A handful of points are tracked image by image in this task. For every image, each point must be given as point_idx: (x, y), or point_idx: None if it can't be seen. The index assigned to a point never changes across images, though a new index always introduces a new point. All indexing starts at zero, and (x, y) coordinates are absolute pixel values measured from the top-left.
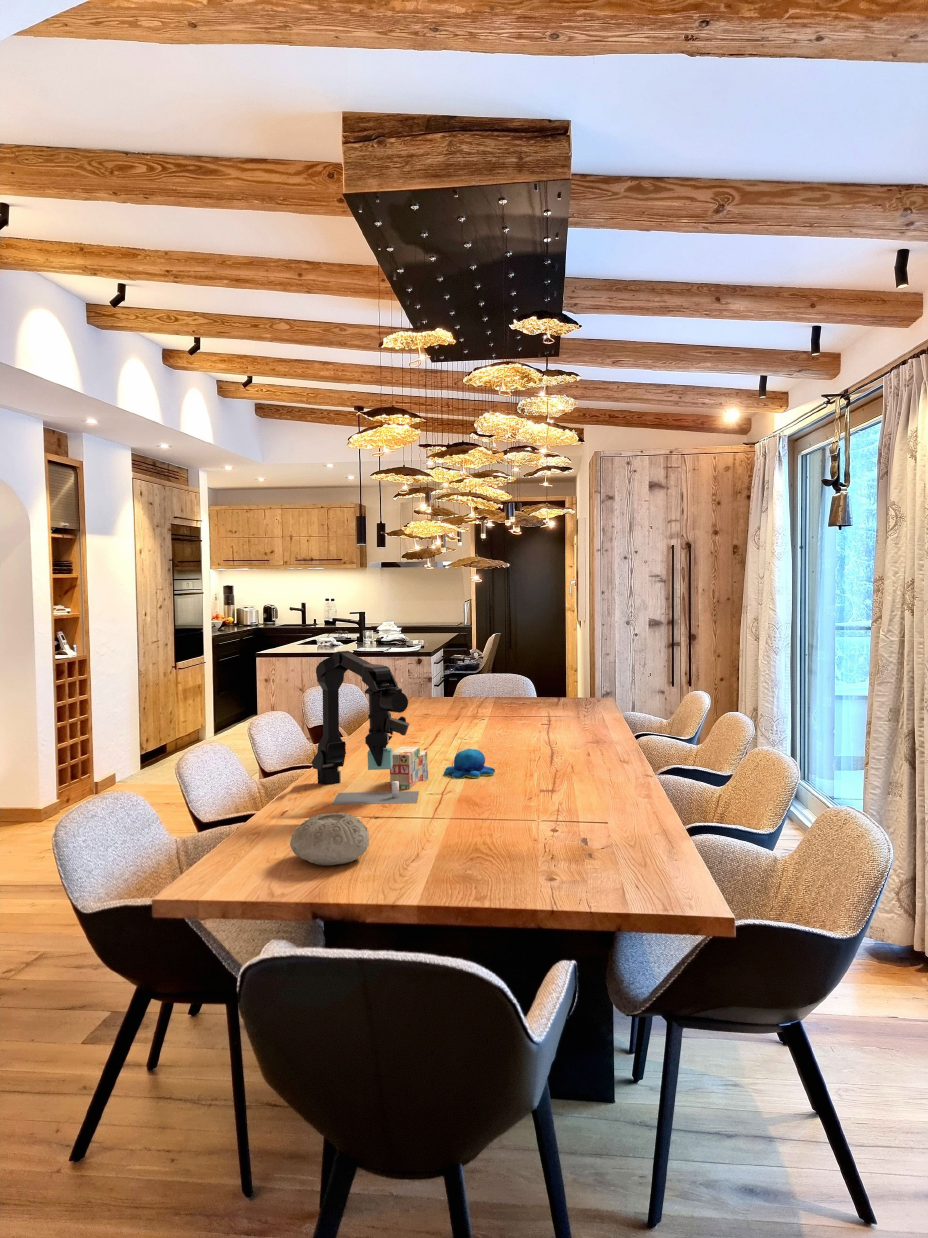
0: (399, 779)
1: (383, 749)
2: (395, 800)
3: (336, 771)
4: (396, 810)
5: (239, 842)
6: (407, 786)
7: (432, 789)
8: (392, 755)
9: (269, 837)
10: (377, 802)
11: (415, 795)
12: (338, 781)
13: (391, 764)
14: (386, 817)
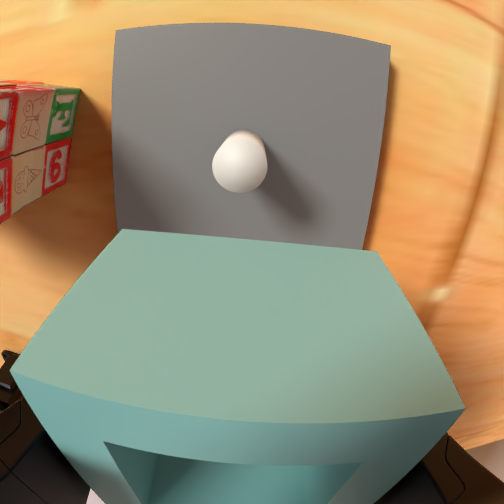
0: (30, 151)
1: (489, 488)
2: (317, 151)
3: (14, 398)
4: (395, 148)
5: (471, 442)
6: (56, 100)
7: (22, 9)
8: (86, 292)
9: (476, 422)
10: (338, 243)
11: (214, 37)
12: None
13: (289, 261)
14: (476, 200)
